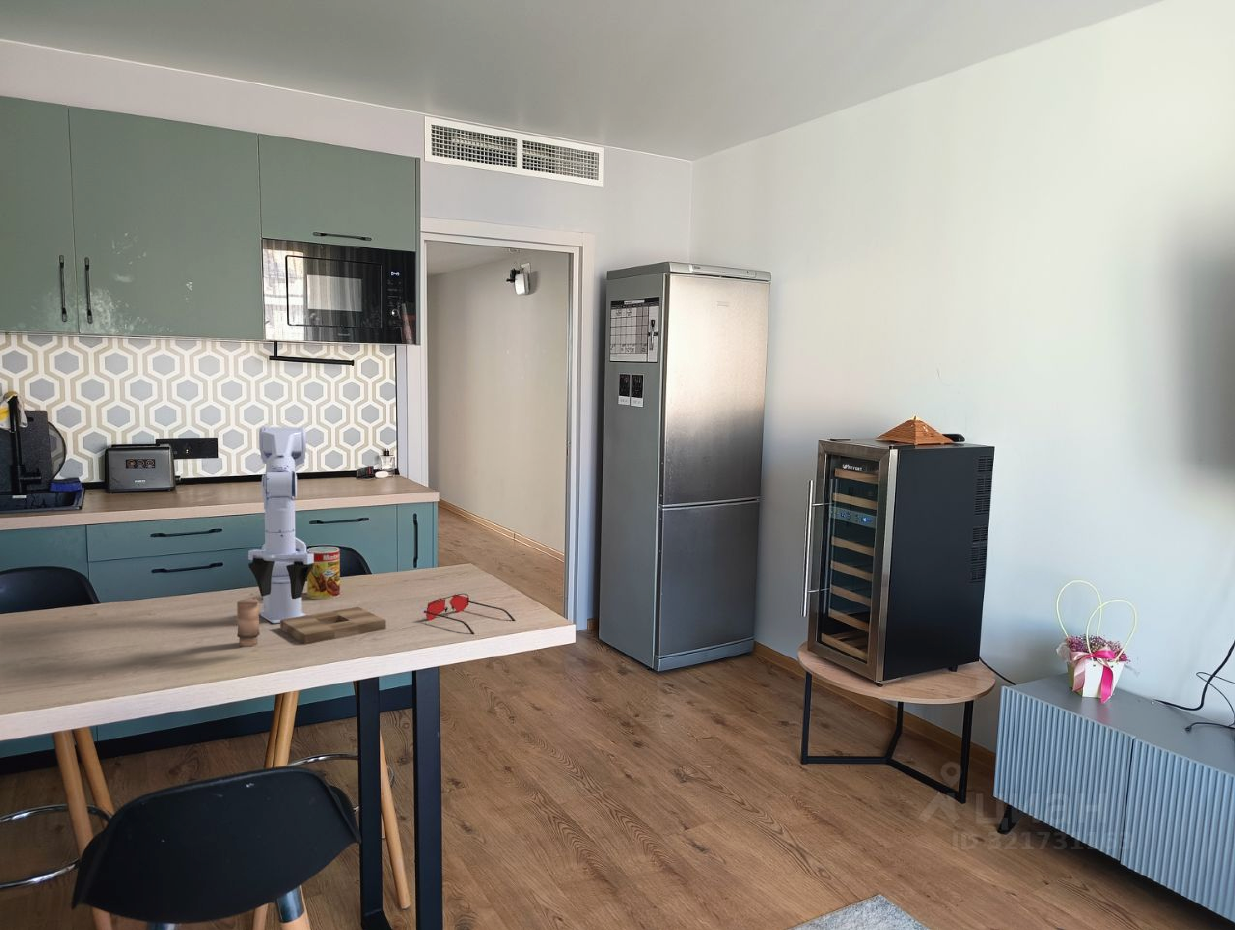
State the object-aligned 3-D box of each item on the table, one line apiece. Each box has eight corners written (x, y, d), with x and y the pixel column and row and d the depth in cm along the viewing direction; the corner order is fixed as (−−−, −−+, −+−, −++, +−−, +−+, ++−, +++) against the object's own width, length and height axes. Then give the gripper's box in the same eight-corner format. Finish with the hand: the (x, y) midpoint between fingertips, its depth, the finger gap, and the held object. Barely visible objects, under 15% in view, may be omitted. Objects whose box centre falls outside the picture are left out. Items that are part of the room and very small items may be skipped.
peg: (234, 643, 169) (233, 601, 168) (255, 639, 172) (255, 598, 171) (241, 648, 166) (240, 605, 165) (262, 644, 169) (262, 602, 168)
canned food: (333, 599, 205) (333, 552, 204) (302, 599, 205) (301, 552, 204) (344, 592, 213) (343, 546, 212) (314, 591, 213) (313, 546, 212)
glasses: (466, 610, 200) (466, 590, 200) (516, 622, 191) (516, 601, 190) (422, 622, 189) (422, 601, 189) (473, 636, 180) (473, 614, 179)
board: (280, 628, 180) (280, 619, 180) (357, 614, 192) (357, 606, 192) (305, 644, 170) (305, 634, 170) (385, 628, 182) (385, 619, 182)
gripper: (236, 531, 164) (237, 597, 165) (296, 535, 160) (297, 603, 161) (261, 526, 171) (262, 591, 172) (320, 530, 167) (320, 596, 168)
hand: (281, 596), depth 167 cm, fingers open, 7 cm apart
